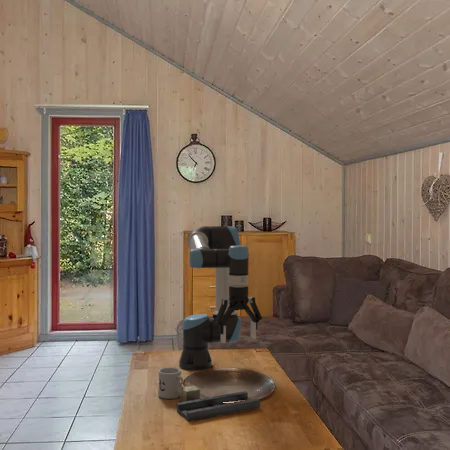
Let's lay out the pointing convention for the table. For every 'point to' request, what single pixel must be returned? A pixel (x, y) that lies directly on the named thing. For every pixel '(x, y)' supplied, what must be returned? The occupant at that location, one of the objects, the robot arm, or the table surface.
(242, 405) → the rail
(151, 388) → the table surface
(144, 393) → the table surface
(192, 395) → the brushed top tan cube
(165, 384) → the mug
